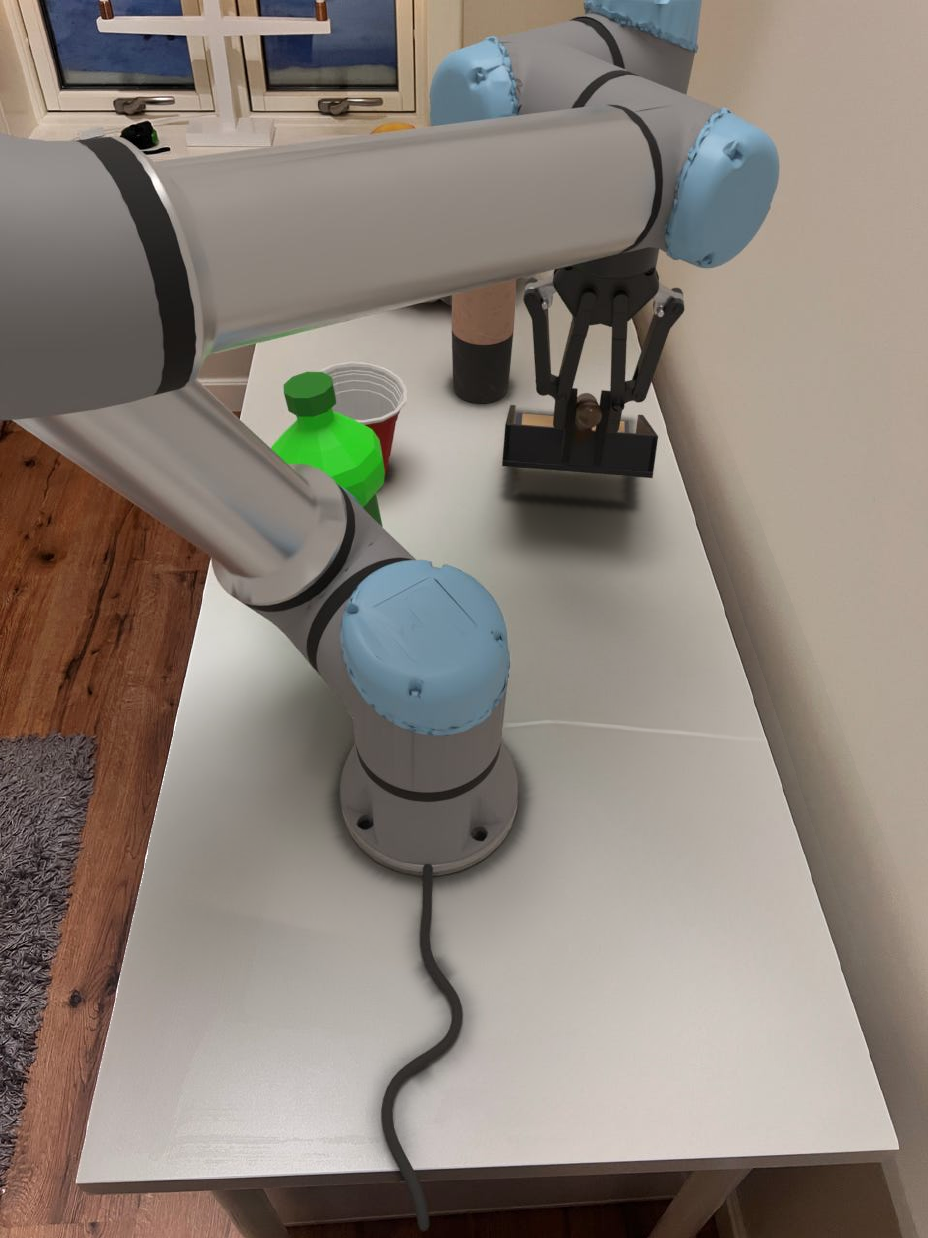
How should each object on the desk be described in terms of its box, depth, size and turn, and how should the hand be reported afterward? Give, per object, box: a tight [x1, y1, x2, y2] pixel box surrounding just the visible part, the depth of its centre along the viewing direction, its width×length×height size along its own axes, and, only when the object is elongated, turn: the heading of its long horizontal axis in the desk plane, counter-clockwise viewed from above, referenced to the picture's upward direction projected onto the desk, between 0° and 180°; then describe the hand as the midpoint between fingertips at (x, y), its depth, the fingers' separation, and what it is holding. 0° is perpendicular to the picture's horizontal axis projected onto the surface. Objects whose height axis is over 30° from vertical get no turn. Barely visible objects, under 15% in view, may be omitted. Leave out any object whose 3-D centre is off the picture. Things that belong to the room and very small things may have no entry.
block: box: [521, 413, 554, 427], centre depth 112 cm, size 4×4×4 cm
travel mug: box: [451, 279, 517, 404], centre depth 115 cm, size 8×8×20 cm
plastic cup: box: [317, 361, 408, 476], centre depth 106 cm, size 11×11×12 cm
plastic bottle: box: [270, 371, 386, 528], centre depth 88 cm, size 10×10×25 cm
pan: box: [501, 392, 659, 479], centre depth 95 cm, size 26×15×8 cm, turn 174°
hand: (581, 455), depth 89 cm, fingers closed on pan, 2 cm apart
